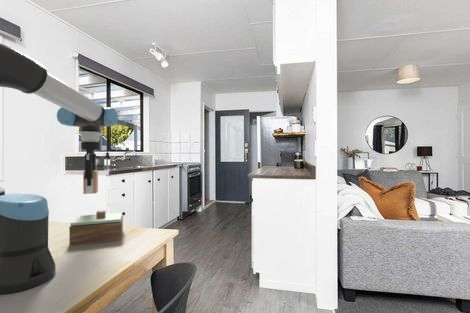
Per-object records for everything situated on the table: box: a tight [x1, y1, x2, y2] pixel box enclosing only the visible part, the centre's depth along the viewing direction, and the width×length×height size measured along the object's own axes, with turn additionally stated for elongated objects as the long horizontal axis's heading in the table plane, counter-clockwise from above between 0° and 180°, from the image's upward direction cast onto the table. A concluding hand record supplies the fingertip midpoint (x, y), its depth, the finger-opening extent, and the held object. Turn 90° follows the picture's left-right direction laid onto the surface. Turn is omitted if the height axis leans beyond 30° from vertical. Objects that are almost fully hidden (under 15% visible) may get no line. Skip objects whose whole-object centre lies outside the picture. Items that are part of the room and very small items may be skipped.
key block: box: [82, 169, 99, 195], centre depth 117 cm, size 5×5×10 cm
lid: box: [70, 209, 123, 226], centre depth 105 cm, size 11×17×4 cm, turn 111°
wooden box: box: [68, 214, 124, 246], centre depth 105 cm, size 12×18×7 cm, turn 111°
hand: (90, 192), depth 117 cm, fingers closed on key block, 5 cm apart
